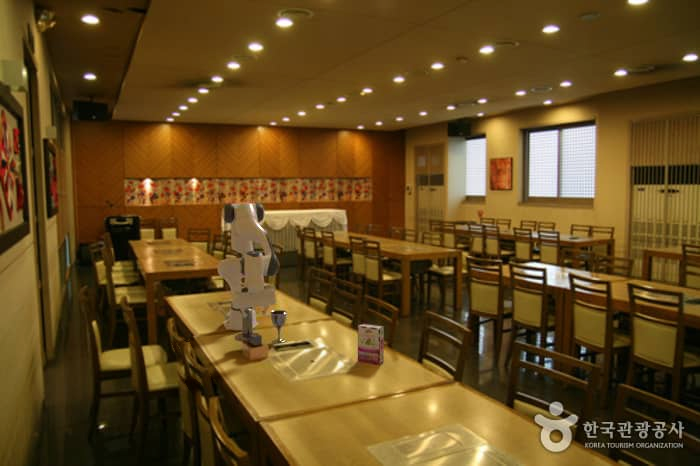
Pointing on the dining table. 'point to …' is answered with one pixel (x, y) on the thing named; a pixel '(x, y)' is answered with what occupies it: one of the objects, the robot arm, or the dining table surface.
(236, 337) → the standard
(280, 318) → the wine glass
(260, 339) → the dark brown upright block
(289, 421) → the dining table surface
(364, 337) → the candy bar box
